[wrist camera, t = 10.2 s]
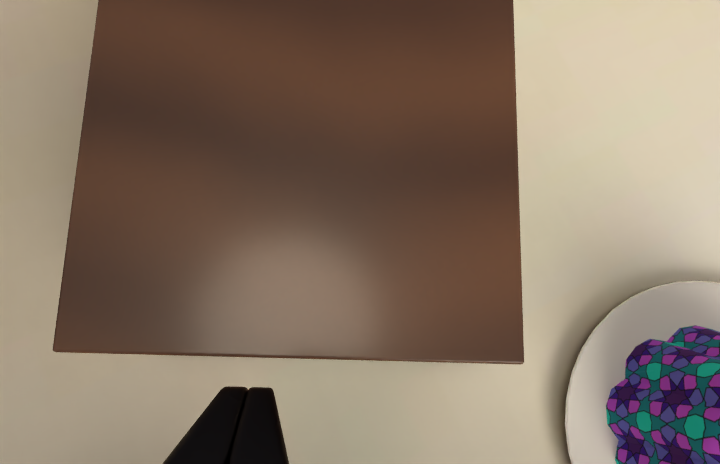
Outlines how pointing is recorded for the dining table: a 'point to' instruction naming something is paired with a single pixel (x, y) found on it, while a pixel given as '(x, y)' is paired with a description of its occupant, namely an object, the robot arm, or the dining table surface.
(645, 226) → the dining table surface
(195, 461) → the robot arm
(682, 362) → the pudding
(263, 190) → the lid
